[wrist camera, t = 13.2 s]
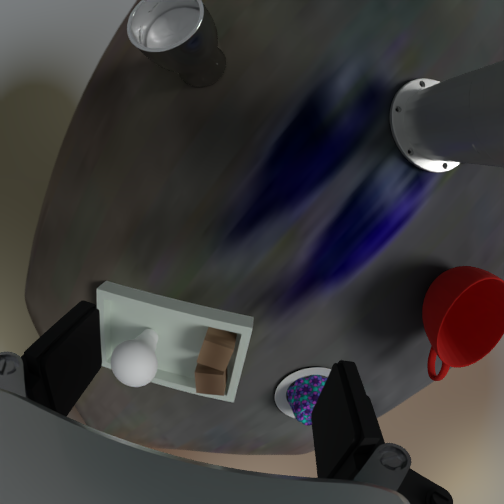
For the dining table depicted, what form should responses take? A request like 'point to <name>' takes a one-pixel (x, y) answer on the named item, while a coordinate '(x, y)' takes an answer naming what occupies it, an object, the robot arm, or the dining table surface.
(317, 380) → the pudding
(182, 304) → the tray
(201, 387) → the walnut block
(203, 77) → the beer glass
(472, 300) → the ceramic cup
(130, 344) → the lightbulb
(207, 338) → the walnut block
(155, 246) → the dining table surface
